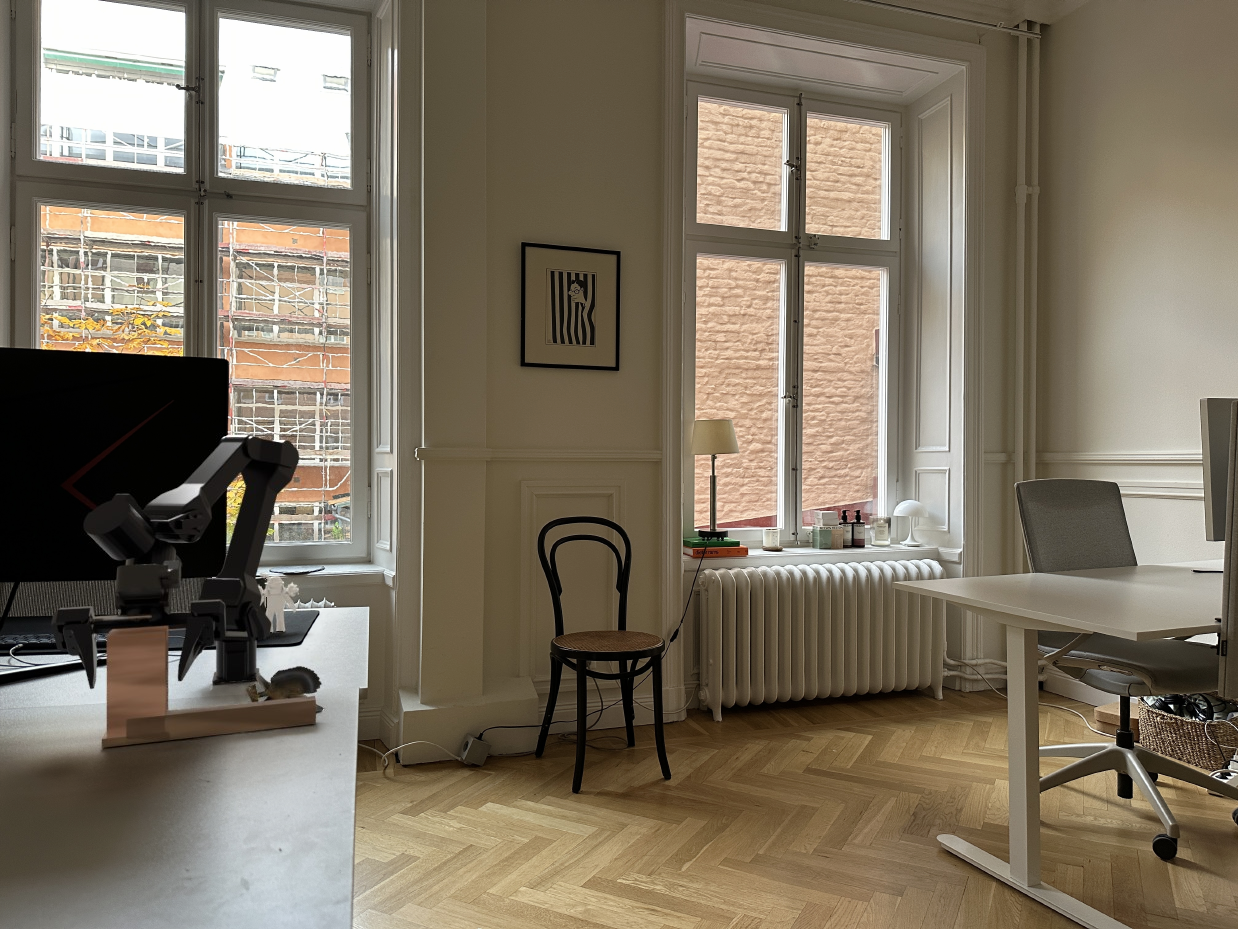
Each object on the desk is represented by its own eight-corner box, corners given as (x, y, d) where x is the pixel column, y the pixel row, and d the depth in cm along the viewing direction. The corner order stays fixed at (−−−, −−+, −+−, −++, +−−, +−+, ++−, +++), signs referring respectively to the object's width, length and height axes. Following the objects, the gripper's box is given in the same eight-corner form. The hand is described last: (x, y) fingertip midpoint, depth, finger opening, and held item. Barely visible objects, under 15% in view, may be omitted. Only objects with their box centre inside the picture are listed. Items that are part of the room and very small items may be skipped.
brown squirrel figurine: (250, 719, 106) (324, 698, 109) (242, 666, 109) (314, 648, 112) (258, 736, 112) (328, 716, 115) (250, 685, 115) (318, 667, 119)
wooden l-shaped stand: (115, 723, 107) (115, 621, 107) (311, 703, 116) (311, 609, 116) (101, 747, 98) (101, 635, 98) (315, 723, 107) (315, 621, 107)
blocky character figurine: (250, 635, 164) (250, 573, 164) (249, 631, 168) (250, 571, 168) (299, 631, 168) (299, 571, 168) (298, 627, 172) (298, 569, 172)
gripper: (55, 541, 102) (30, 651, 91) (225, 537, 109) (220, 638, 99) (68, 597, 109) (47, 705, 98) (227, 590, 116) (223, 689, 106)
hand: (136, 683), depth 100 cm, fingers open, 9 cm apart
